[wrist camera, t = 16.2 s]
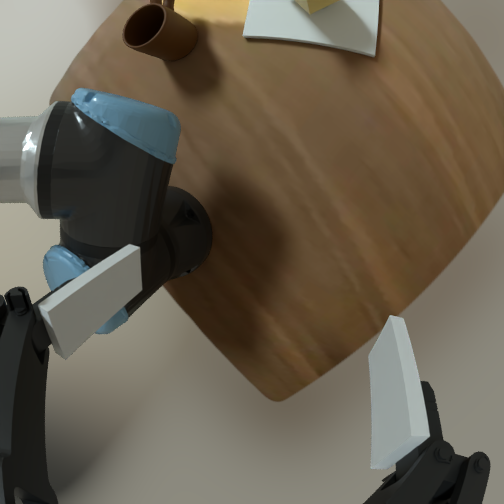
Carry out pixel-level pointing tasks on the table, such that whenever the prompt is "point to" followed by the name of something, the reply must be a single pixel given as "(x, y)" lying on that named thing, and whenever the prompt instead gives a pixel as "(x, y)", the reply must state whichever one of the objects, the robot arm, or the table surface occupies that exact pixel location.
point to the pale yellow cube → (314, 4)
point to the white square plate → (316, 23)
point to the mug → (160, 31)
